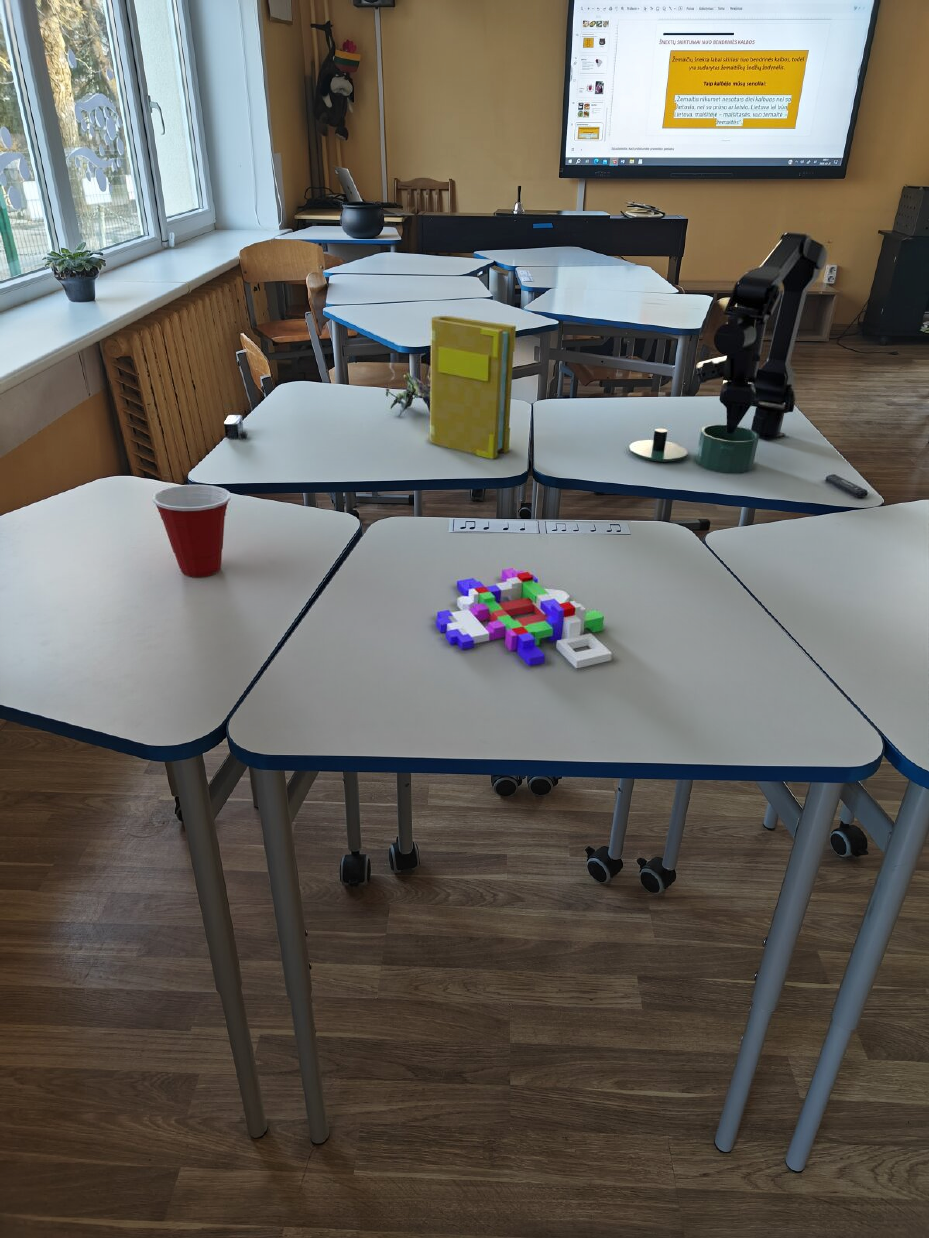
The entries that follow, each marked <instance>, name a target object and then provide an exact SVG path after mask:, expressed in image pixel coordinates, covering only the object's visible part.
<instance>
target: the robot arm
mask: <svg viewBox="0 0 929 1238" xmlns="http://www.w3.org/2000/svg"><path fill="white" fill-rule="evenodd" d="M827 258H828V252H827V249H826V247H825V245H824V244H822V243H820V242H818V241H817V240H814V239H812V237H811V235H808V233H802V232H791V231H787V232H786V233H785V232H783V233H782V234H781V236H780V238H779V241H778V243H777V244H776V246H775V247H774V249H773V250H772V251H771V252H770V253H769V255H768V256H767V258H765V260H764V261H763V262H762V263H761V265H760V266H759V267H756V268H751V269H749V270H748V271H746V272H745V273H744V274H743V275H742V276H741V277H739V279H738V280H737V281H736V282H735V284H734V286H733V289H732V292H731V294H730V296H729V298H728V302H727V304H726V306H725V308H724V311H723V316H728V317H727V322H726V323H723V324H721V325H720V326H719V327H718V328H717V330H716V331H715V332H714V336H713V345H714V347H715V350H717V351H718V353H720V354H721V355H724V356H720V357H715V358H712V359H711V358H710V359H707V360H702V361H699V362H698V363H697V364H696V366H695V369H696V376H697V379H698V384H704V383H707V381H713V380H716V379H720V378H722V385H721V387H720V394H719V402H720V403H721V404H723V406H724V407H725V409H726V424H727V433H731V434H732V433H733V432H734V431H735V429H736V428H737V426H740V423H741V421H742V420H743V419H744V418H745V416H746V414H747V413H748V411H749V410H750V409H751V407H754V408H755V409H754V414H753V418H752V421H751V422H752V423H751V428H749V429H750V430H753V431H755V432H756V433H757V434H759V439H763V440H765V441H772V440H775V439H779V438H783V437H786V434H787V433H785V432H783V431H782V426H783V422H784V417H785V414H788V413H793V412H794V409H795V406H796V391H795V386H794V381H795V380H794V379H795V374H794V371H793V367H792V365H791V359H792V356H793V350H794V347H795V342H796V339H797V335H798V334H797V333H798V330H799V326H800V322H801V319H802V318H801V317H802V315H803V314H802V313H803V309H804V305H805V301H806V298H807V293H808V291H809V289H810V288H811V287H812V286H813V285H814V284H815V282H817V280H818V279H819V278H820V274H821V271H822V270H823V269H824V267H825V265H826V262H827ZM781 284H782V287H783V291H782V292H781V286H780V285H781ZM780 299H781V300H780ZM779 301H780V304H779V309H778V312H777V317H776V320H775V321H776V322H775V326H774V330H773V335H772V339H771V343H770V347H769V351H768V356H767V360H766V361H765V363H763V364H762V366H761V367H760V368H759V363H760V359H761V354H762V353H761V352H762V347H763V344H764V343H763V342H764V339H765V333H766V327H767V322H768V321H767V320H769V318H770V316H773V313H774V311H775V309H776V307H777V306H778V303H779Z"/></svg>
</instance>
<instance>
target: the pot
mask: <svg viewBox="0 0 929 1238" xmlns="http://www.w3.org/2000/svg"><path fill="white" fill-rule="evenodd" d="M750 429H751V428H748V427H743V426H740V425H738V426H737V428H736V429H735V431H734V432H733V433H732V434H731V433H727V423H723V424H722V423H721V424H718V423H717V424H710V425H709V424H708V425H705V426H703V427H701V430H700V435H699V440H698V445H697V452H696V458H695V463H696V464H697V465H699V466H700V467H702V468H704V469H706V470H709V471H714V472H718V473H723V474H724V473H725V474H741V473H747V472H749V471H751V470H752V469H753V467H754V462H755V458H756V453H757V449H758V443H759V439H760V438H759V434H757V433H756V432H755V431H753V430H750Z"/></svg>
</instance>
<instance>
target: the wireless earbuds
mask: <svg viewBox="0 0 929 1238" xmlns="http://www.w3.org/2000/svg"><path fill="white" fill-rule="evenodd" d="M223 426H224V427H223V428H224V434H225V438H226V439H232V440H233V439H235V440H236V439H238V438H240V439H241V440H246V439H247V438H248V431H245V430H244V423H243V415H241V414H230V415H228V416H227V418H226V420H225V421H224V422H223ZM243 430H244V431H243Z"/></svg>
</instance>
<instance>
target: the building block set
mask: <svg viewBox="0 0 929 1238" xmlns="http://www.w3.org/2000/svg"><path fill="white" fill-rule="evenodd" d="M501 581H502V582H497V583H495V584H493V585H488V586H485V585H484V584H483V583H482V581H480V580H479V581H477V580H476V579H475V578H474V577H471V578H466V579H460V580H457V581H456V589H457V590H458V591H459V592H460V593H461V594H462V595H461V596H459V597H457V600H456V606H457V607H458V608H459V609H460V610H458V611H453V612H451V611H450V610H449V609H446V610H441V611H437V612H436V613H437V614H436V620H435V621H436V622H435V627H436V629H438V631H439V632H440V633H444V632H445V640H446V641H447V642H448V644H449V645H457V646H458V647H459V648H460V650H461V651H463V650H468V649H473V648H475V647H474V646H475V644H479V643H485V642H490V641H494V640H498V639H504V638H505V640H504V641H505V642H504V645H505V646H506V648H507V649H508V650H509V651H510V652H513V651H517V652H516V653H517V655H518V656H519V657H520V658H521V659H522V660H523V661H524V663H526V665H527V666H528V667H531V666H535V665H540V664H544V663H545V661H546V655H545V653H544V652H543V651H542V650H541V649H540V648H539V647H538V646H540V642H541V641H540V639H543V638H545V639H547V640H548V641H549V642H550V643H552V642H556V646H555V649H556V650H557V651H558V652H559V653H560V654H561V655H562V656H563V657H564V658H565V659H566V660H567V661H568V662H569V663H571V665H572V666H573V667H574V668H575V669H581V668H585V667H589V666H593V665H598V664H603V663H606V662H611V661H612V655H613V653H612V652H611V651H610V650H609V648H607V647H606V646H605V645H604V644H603V643H602V642H601V641H599V639H597V638H596V637H595V635H594V634H592V633H597V632H602V631H603V629H604V621H605V620H604V618H605V616H604V615H603V614H602V613H601V612H600V611H599V610H594V609H593V610H589V611H587V608H586V607H584V605H582V604H581V603H579V602H577V601H576V600H572V601H570V597H571V596H570V595H569V594H568V593H567V592H566V591H565V590H561V589H560V590H559V589H554V588H553V589H552V588H544V587H542V586H541V585H540V584H539V579H538V578H537V577H536V576H535V575H534V574H533V573H532V574H531V573H530V572H529V571H524V570H523V569H520V570H515V569H514V568H513V567H512V568H506V569H501ZM502 598H507V599H508V601H504V602H501V599H502ZM528 613H534V615H529V616H525V617H520V618H515V619H513V618H512V617H514V616H518V615H524V614H528ZM486 620H489V622H488V625H487V626H484V625H483V624H482V623H481V622H482V621H486ZM585 629H588V630H590V632H591V633H586V634H584V632H585V631H584V630H585ZM587 646H588V647H589V649H584V650H581V651H575V650H574V649H578V648H582V647H587Z"/></svg>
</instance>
